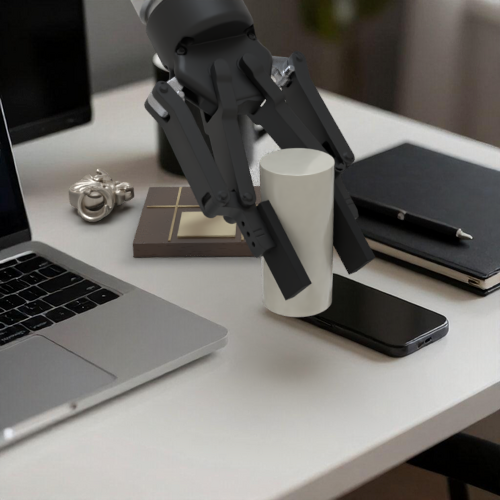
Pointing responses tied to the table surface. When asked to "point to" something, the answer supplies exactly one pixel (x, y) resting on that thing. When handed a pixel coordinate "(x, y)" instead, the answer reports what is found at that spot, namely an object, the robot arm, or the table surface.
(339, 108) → the table surface
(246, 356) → the table surface
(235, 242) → the board
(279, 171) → the white cylinder
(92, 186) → the ornament
